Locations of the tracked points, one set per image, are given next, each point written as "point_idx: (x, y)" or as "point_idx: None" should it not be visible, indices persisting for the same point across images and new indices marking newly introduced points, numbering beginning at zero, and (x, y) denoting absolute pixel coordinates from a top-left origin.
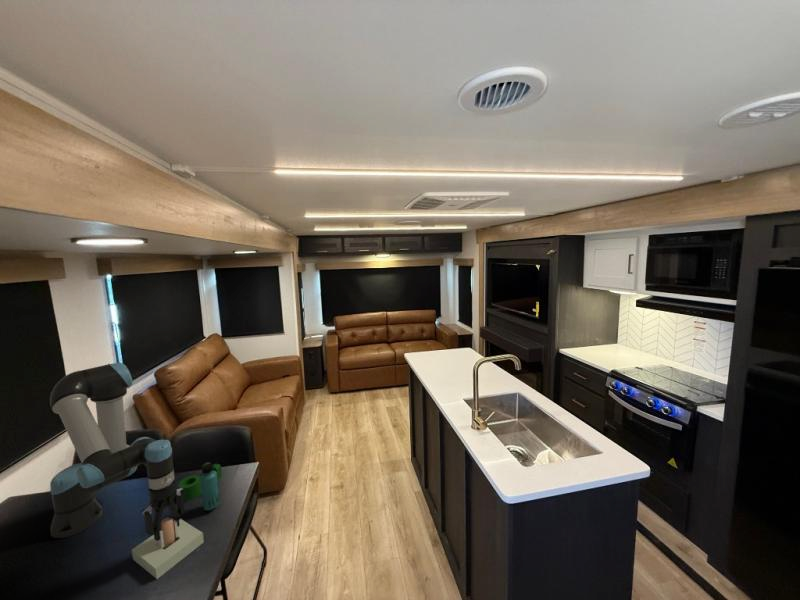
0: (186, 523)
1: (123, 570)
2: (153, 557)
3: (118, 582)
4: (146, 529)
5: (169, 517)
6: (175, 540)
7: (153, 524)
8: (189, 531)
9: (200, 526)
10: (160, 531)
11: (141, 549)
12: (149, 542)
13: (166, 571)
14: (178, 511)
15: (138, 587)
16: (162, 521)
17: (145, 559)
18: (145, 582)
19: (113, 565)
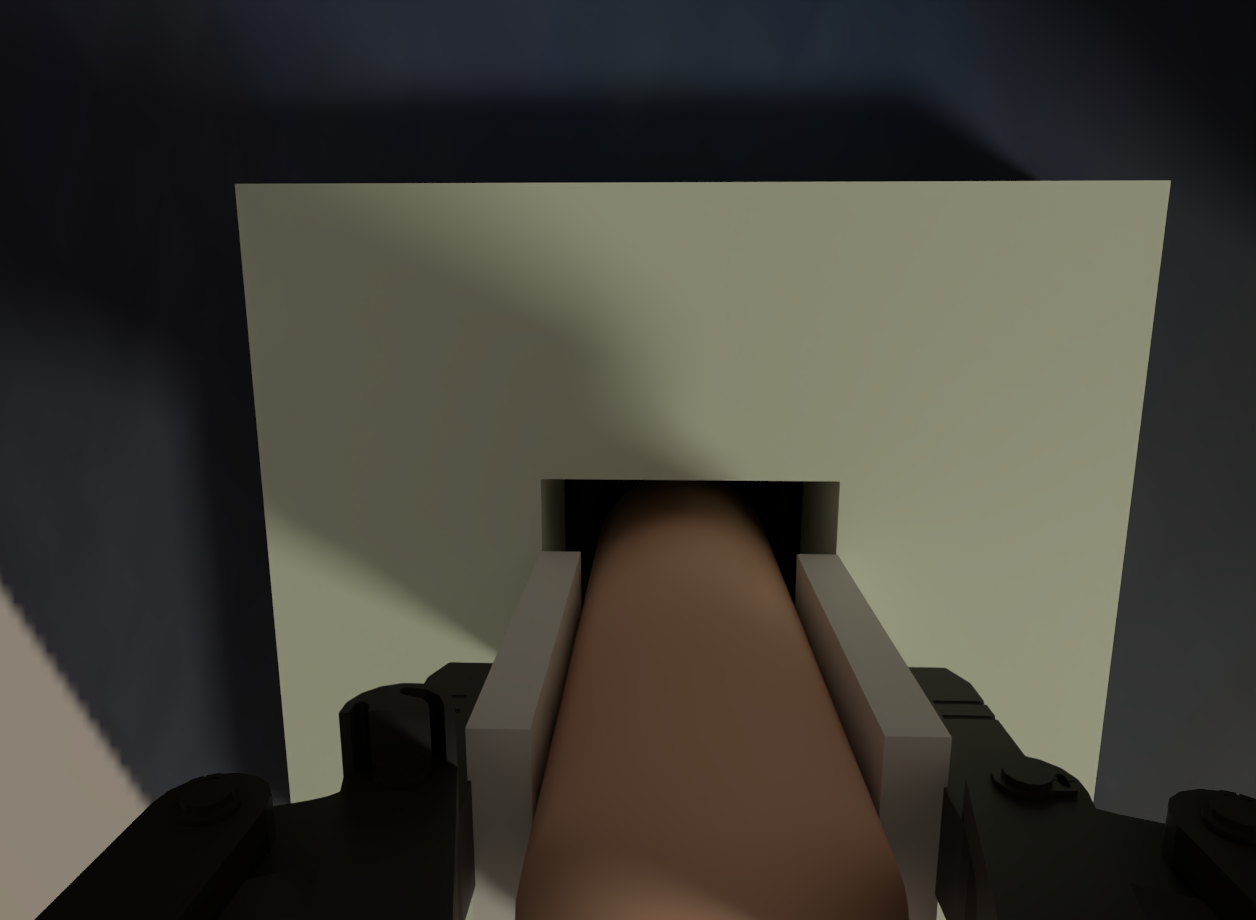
0: (1115, 508)
1: (169, 291)
2: None
3: (67, 446)
4: (66, 909)
5: (880, 839)
6: (811, 534)
7: (311, 916)
8: None
9: (1200, 538)
10: (489, 915)
11: (339, 360)
12: (493, 324)
13: None
14: (1205, 909)
15: (194, 756)
16: (656, 804)
17: (287, 660)
18: (270, 764)
19: (109, 30)
